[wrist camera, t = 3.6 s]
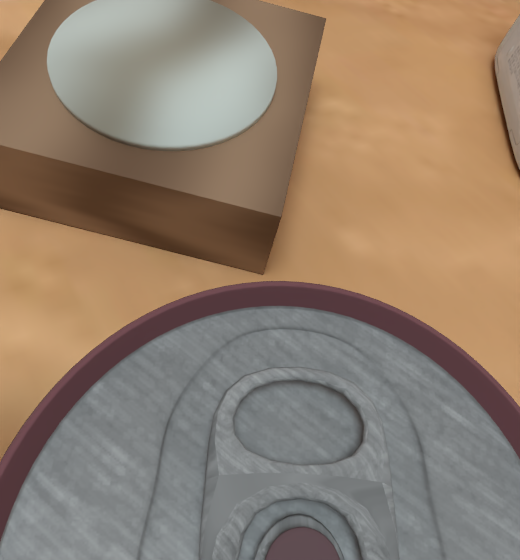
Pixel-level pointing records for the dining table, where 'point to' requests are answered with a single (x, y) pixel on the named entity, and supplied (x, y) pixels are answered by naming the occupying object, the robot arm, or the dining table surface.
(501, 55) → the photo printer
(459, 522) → the soda can
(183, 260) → the dining table surface
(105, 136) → the plinth
